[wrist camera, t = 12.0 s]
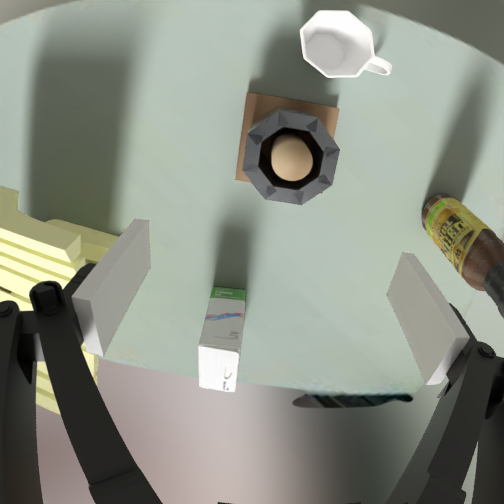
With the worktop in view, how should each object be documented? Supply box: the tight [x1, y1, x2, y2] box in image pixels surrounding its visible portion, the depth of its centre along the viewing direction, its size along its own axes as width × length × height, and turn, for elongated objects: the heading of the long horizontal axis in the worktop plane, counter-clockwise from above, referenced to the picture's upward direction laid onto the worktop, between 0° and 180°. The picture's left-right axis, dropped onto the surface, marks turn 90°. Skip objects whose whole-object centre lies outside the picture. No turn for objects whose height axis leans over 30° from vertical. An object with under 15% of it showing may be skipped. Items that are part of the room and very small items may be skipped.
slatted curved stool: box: [0, 186, 127, 415], centre depth 37 cm, size 30×16×18 cm, turn 165°
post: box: [235, 93, 339, 193], centre depth 31 cm, size 10×10×10 cm
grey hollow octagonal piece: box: [242, 106, 340, 205], centre depth 30 cm, size 8×8×8 cm
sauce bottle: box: [422, 194, 504, 318], centre depth 29 cm, size 6×6×20 cm
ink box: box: [198, 287, 246, 392], centre depth 42 cm, size 8×5×12 cm, turn 175°
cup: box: [300, 10, 393, 78], centre depth 27 cm, size 7×10×8 cm
